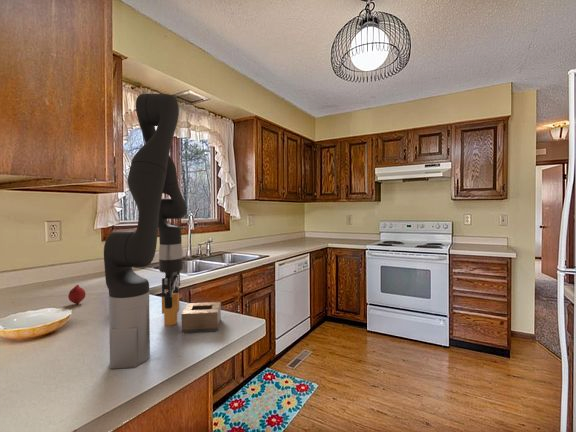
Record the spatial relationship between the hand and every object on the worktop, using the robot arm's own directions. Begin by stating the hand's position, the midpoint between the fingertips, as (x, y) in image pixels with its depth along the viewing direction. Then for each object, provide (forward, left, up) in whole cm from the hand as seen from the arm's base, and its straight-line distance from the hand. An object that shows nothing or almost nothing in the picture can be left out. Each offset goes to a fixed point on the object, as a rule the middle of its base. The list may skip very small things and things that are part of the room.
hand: (172, 304), depth 105 cm
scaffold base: (-4, -11, -7) cm, 13 cm away
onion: (+28, +44, -7) cm, 53 cm away
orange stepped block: (0, 0, -7) cm, 7 cm away
